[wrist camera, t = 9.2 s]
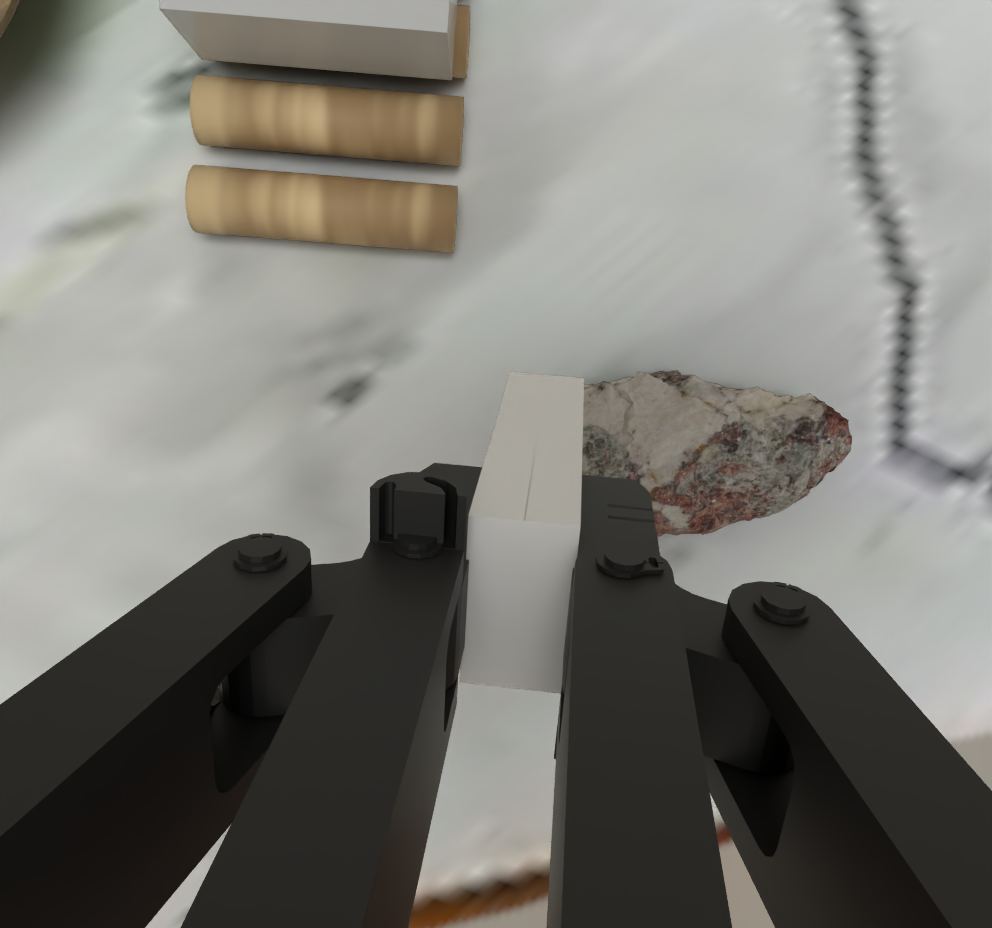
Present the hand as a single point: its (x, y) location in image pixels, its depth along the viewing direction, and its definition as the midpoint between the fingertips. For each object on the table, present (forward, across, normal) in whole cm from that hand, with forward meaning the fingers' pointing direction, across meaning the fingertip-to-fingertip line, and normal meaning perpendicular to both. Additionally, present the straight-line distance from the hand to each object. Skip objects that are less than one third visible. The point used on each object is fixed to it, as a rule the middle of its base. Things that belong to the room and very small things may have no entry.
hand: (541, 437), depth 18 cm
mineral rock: (+24, +6, -10) cm, 26 cm away
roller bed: (+27, -12, +6) cm, 30 cm away
